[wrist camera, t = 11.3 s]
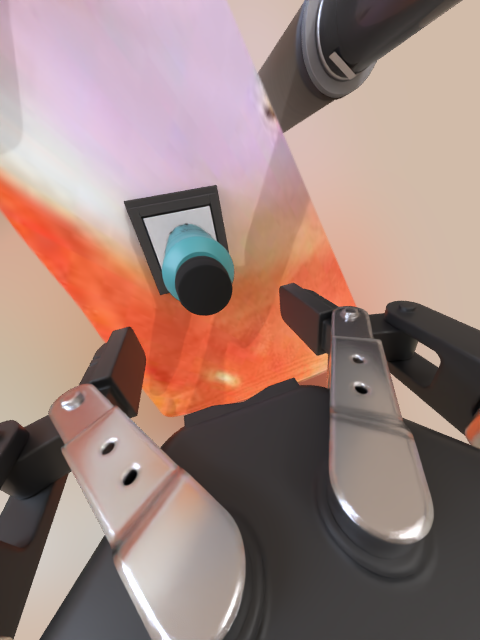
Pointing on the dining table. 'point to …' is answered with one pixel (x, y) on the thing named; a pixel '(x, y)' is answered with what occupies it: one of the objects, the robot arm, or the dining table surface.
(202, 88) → the dining table surface
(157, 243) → the pan
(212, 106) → the dining table surface
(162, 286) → the scale
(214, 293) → the beverage bottle
